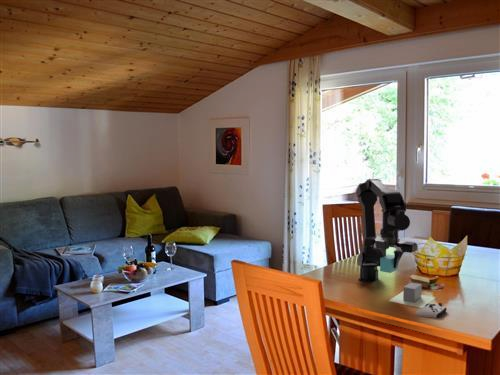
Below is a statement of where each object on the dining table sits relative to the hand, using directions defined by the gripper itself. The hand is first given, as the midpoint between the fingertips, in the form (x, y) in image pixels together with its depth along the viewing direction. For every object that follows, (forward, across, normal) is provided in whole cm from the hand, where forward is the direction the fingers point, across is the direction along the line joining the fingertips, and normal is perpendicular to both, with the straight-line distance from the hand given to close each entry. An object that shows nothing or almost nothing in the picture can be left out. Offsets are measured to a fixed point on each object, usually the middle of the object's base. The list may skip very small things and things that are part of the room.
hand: (389, 267), depth 175 cm
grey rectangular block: (+10, +9, +1) cm, 14 cm away
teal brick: (+1, 0, 0) cm, 1 cm away
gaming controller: (+12, +19, -8) cm, 24 cm away
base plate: (+11, +9, +1) cm, 14 cm away
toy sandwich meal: (+12, +7, +19) cm, 24 cm away
